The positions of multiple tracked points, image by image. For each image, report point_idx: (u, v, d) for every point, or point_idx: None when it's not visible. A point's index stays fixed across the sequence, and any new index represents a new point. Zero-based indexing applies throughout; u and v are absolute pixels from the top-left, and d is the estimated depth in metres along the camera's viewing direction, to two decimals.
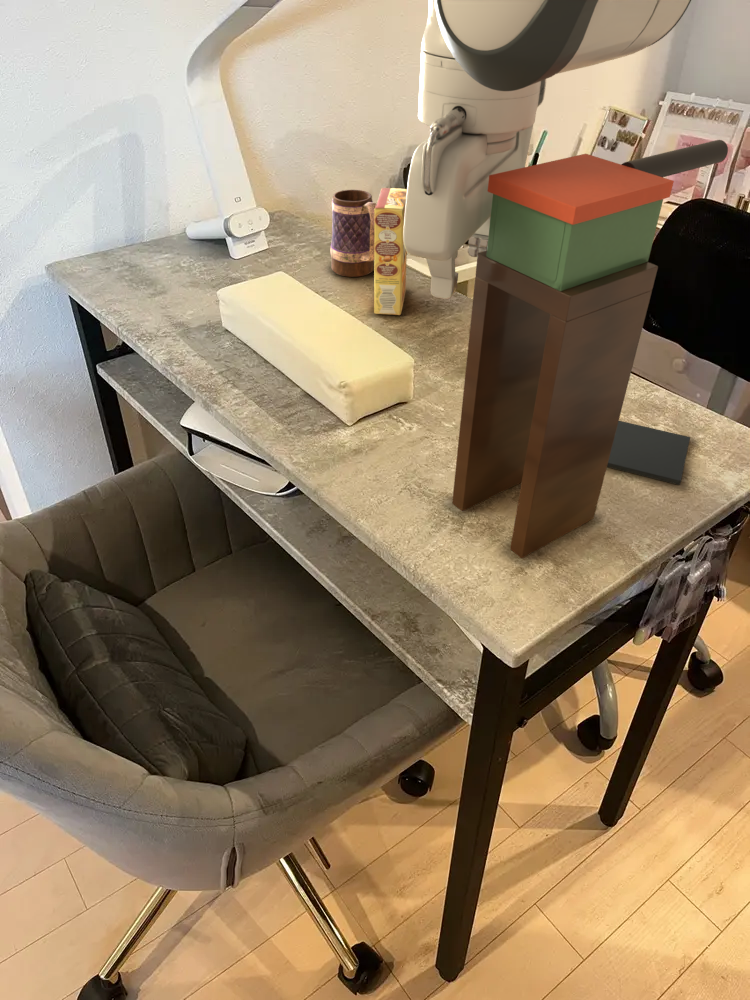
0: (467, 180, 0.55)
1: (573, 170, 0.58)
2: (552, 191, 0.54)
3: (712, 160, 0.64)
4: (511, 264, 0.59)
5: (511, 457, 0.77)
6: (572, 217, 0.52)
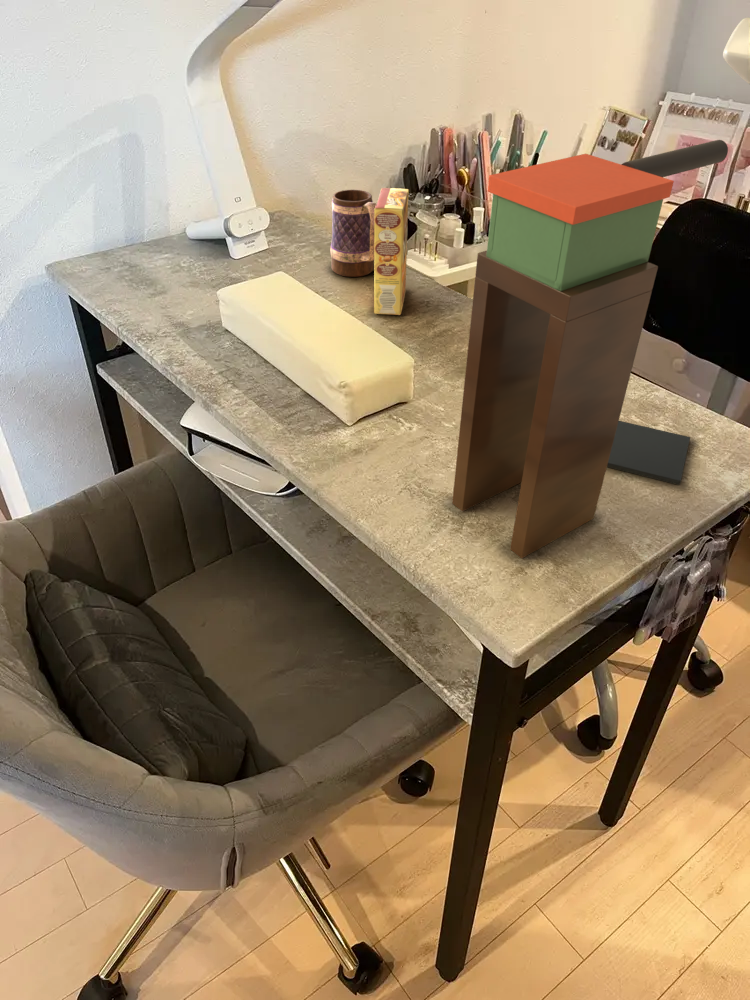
0: None
1: (573, 170, 0.58)
2: (552, 191, 0.54)
3: (712, 160, 0.64)
4: (511, 264, 0.59)
5: (511, 457, 0.77)
6: (572, 217, 0.52)
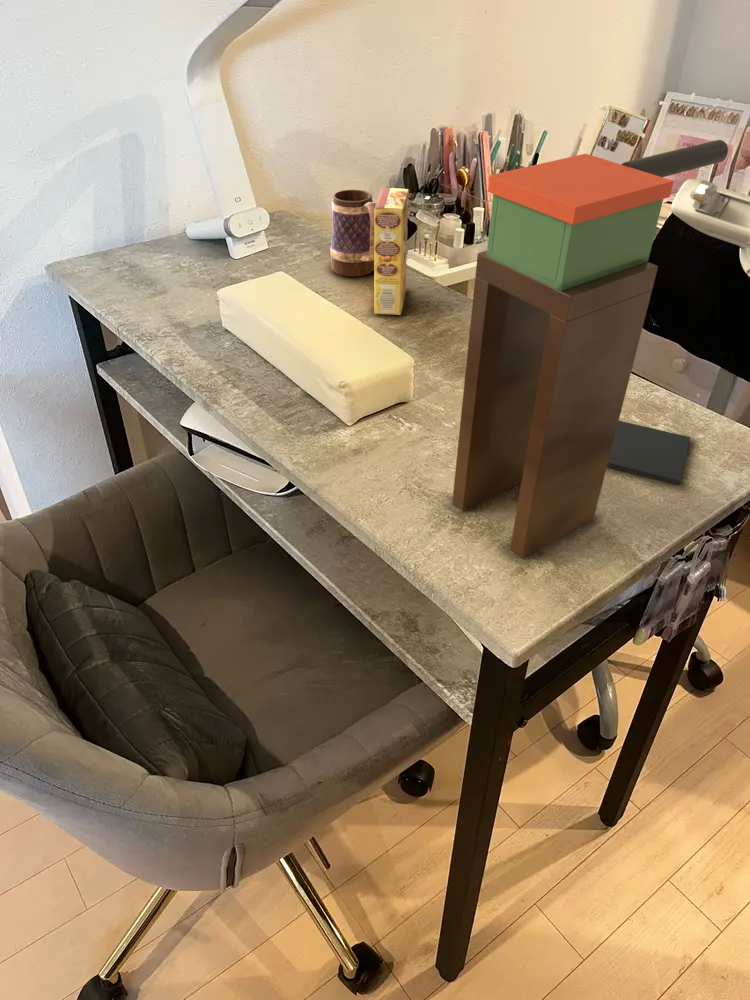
0: None
1: (573, 170, 0.58)
2: (552, 191, 0.54)
3: (712, 160, 0.64)
4: (511, 264, 0.59)
5: (511, 457, 0.77)
6: (572, 217, 0.52)
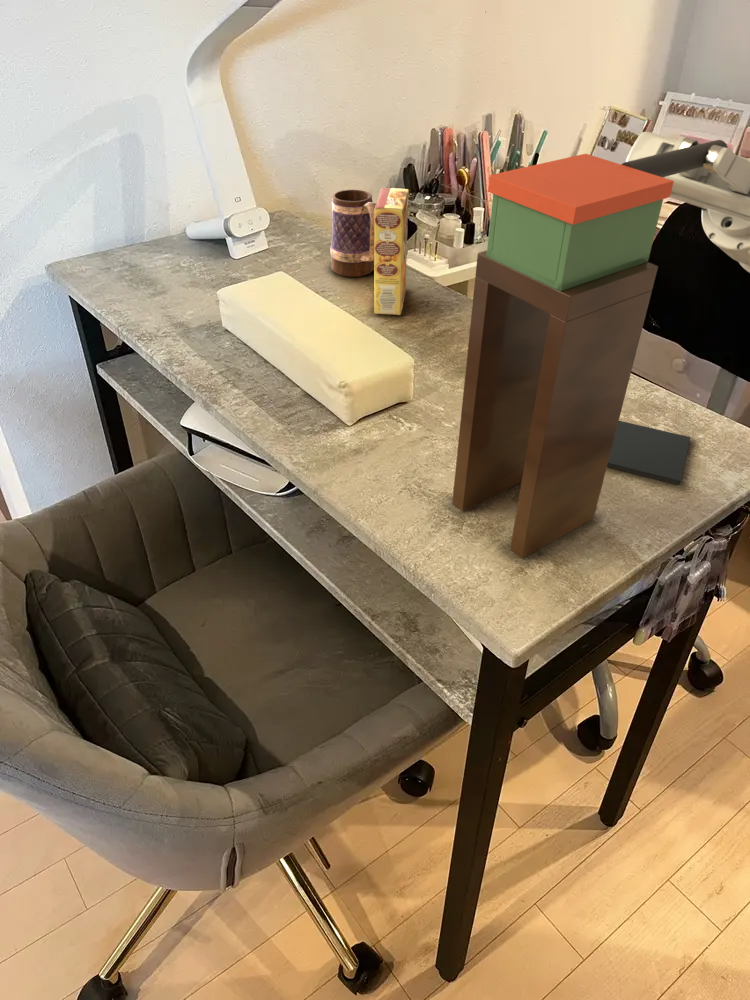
0: None
1: (573, 170, 0.58)
2: (552, 191, 0.54)
3: None
4: (511, 264, 0.59)
5: (511, 457, 0.77)
6: (572, 217, 0.52)
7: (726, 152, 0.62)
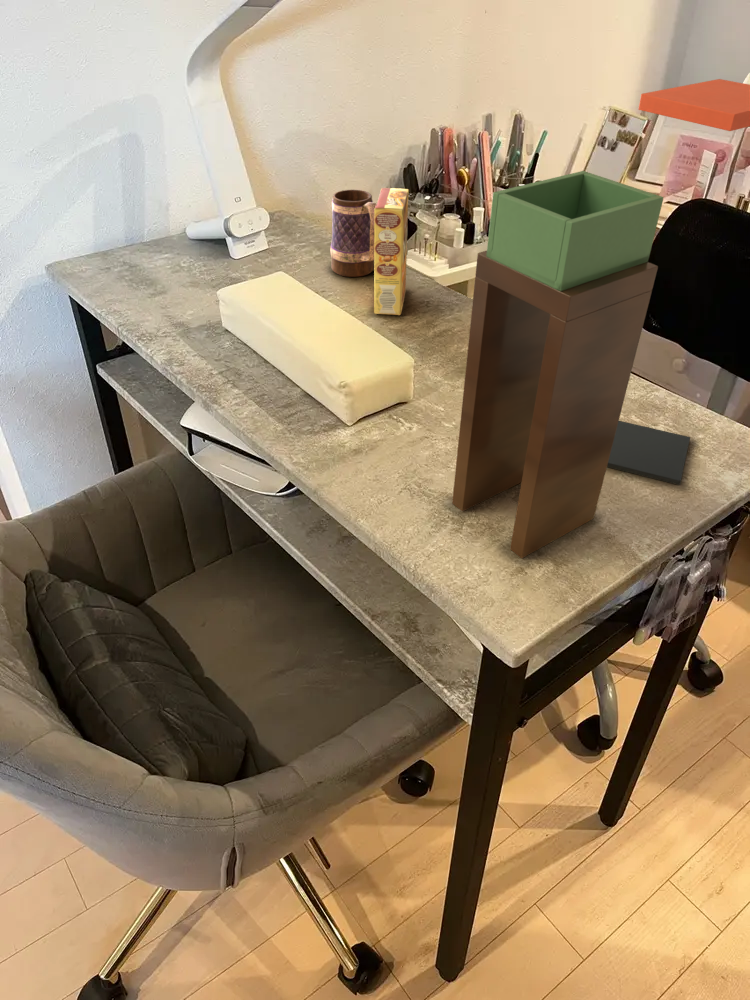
0: None
1: (715, 90, 0.63)
2: (706, 104, 0.59)
3: None
4: (511, 264, 0.59)
5: (511, 457, 0.77)
6: (730, 124, 0.57)
7: None
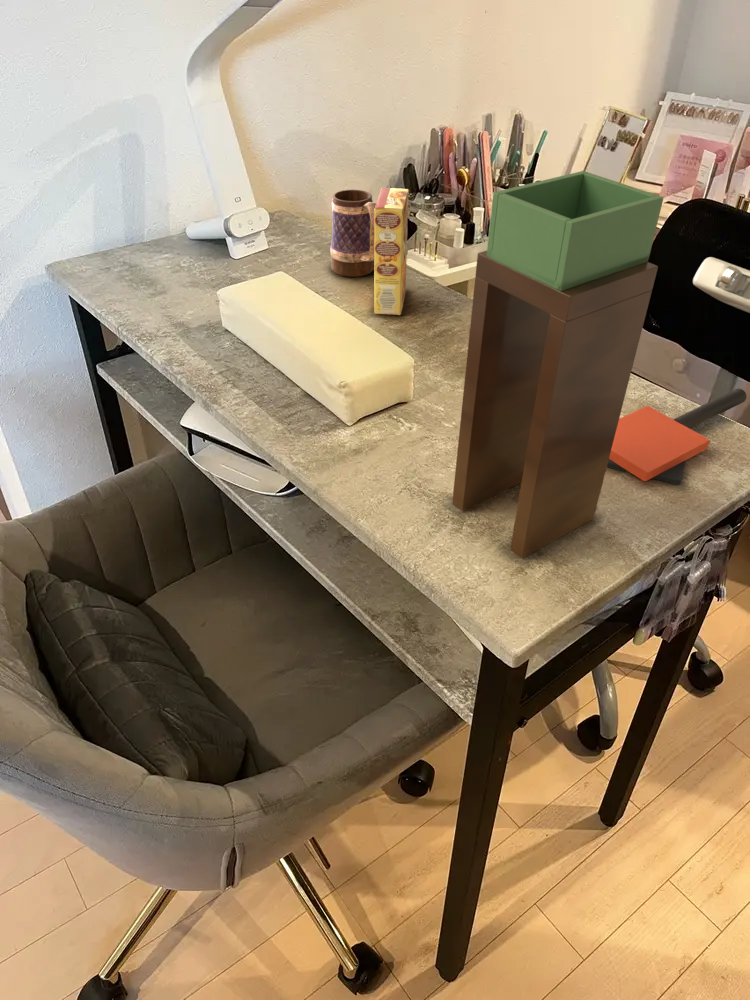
0: None
1: (641, 427, 0.86)
2: (629, 454, 0.82)
3: (735, 405, 0.92)
4: (511, 264, 0.59)
5: (511, 457, 0.77)
6: (644, 477, 0.80)
7: None
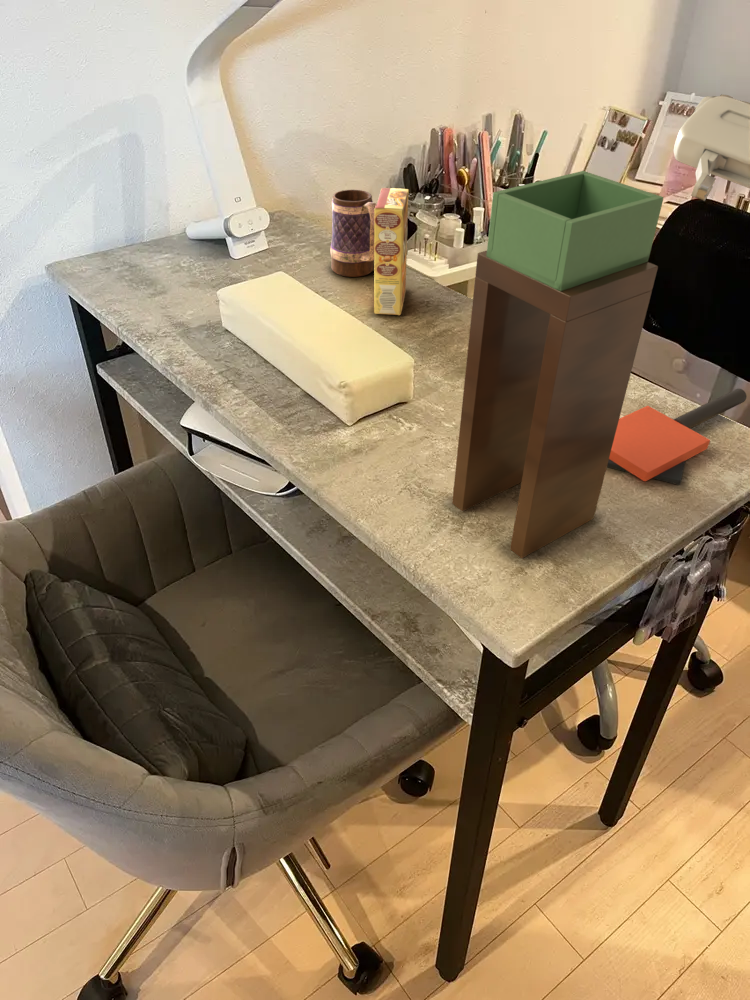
0: (734, 119, 0.80)
1: (641, 427, 0.86)
2: (629, 454, 0.82)
3: (735, 405, 0.92)
4: (511, 264, 0.59)
5: (511, 457, 0.77)
6: (644, 477, 0.80)
7: None
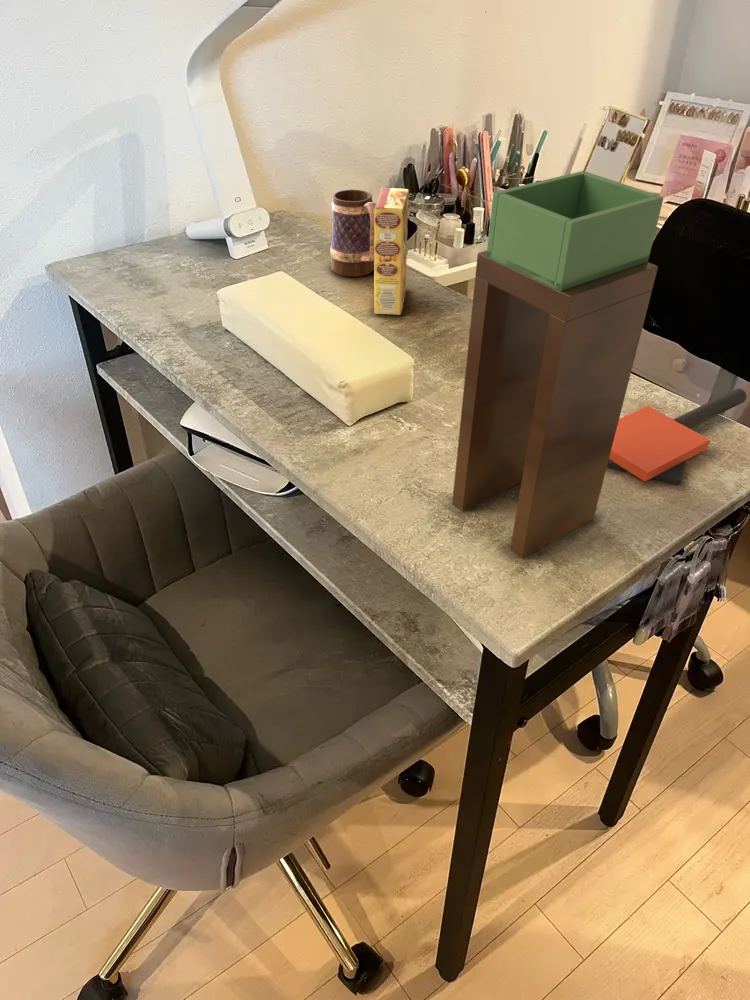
0: None
1: (641, 427, 0.86)
2: (629, 454, 0.82)
3: (735, 405, 0.92)
4: (511, 264, 0.59)
5: (511, 457, 0.77)
6: (644, 477, 0.80)
7: None
